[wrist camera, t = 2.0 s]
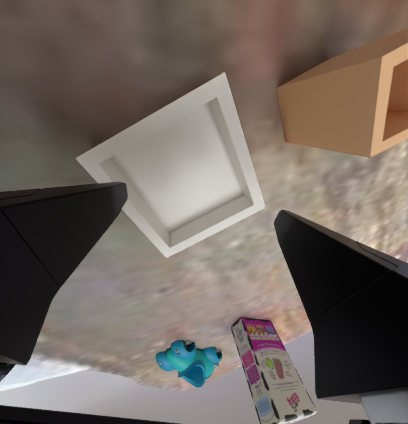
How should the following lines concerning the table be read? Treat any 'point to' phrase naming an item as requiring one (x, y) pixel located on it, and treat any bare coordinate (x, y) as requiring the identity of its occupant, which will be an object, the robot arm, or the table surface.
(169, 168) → the white square tray
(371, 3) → the table surface
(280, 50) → the table surface
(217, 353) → the turquoise toy figure
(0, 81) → the table surface
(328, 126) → the orange bin
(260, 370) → the candy bar box
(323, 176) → the table surface
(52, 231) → the robot arm
